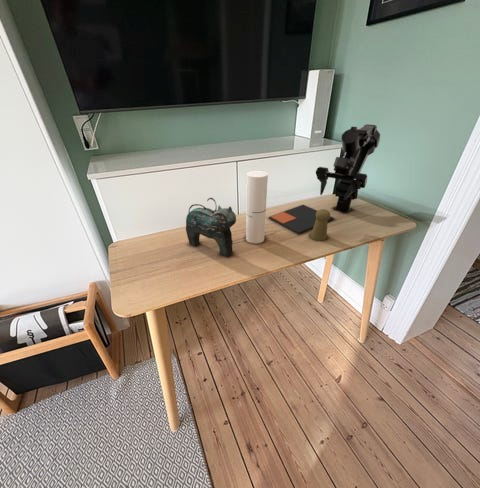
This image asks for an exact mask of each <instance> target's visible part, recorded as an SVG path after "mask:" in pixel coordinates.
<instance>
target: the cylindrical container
mask: <svg viewBox="0 0 480 488" xmlns="http://www.w3.org/2000/svg"><path fill="white" fill-rule="evenodd" d="M245 175H246V180H245V181H246V182H245V184H246V187H245V188H246V190H245V191H246V192H245V195H246V196H245V197H246V198H245V199H246V200H245V201H246V202H245V203H246V204H245V205H246V206H245V208H246V209H245V211H246V212H245V235H246V236H245V240H246V241H247V242H248V243H250V244H260V243H263V242H264V241H265V235H266V234H265V233H266V214H267V198H268V196H267V195H268V180H269V179H268V178H269V172H267V171H264V170H250V171H247V172H246V174H245Z"/></svg>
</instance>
